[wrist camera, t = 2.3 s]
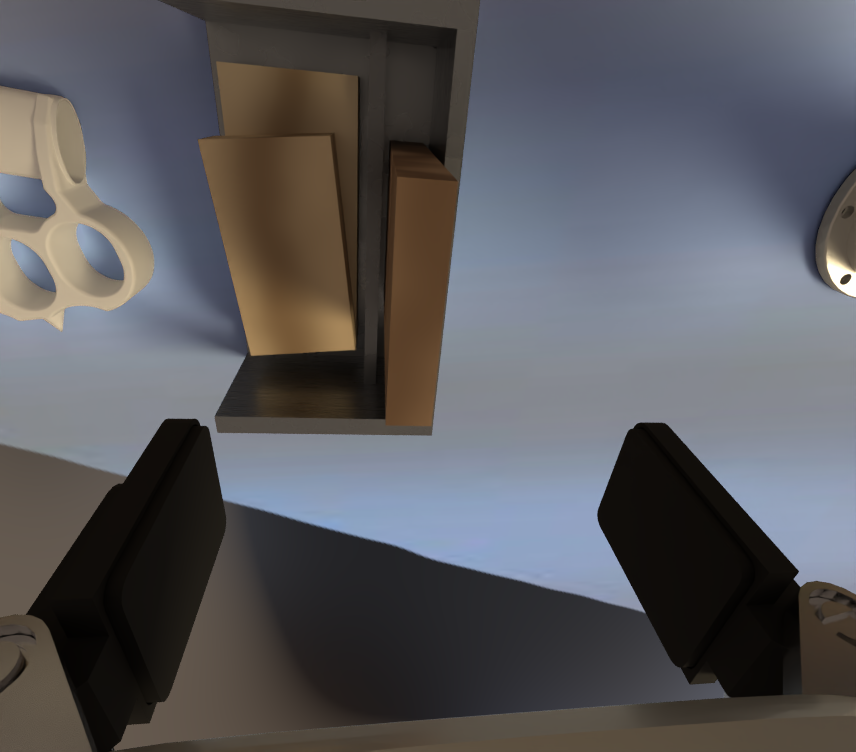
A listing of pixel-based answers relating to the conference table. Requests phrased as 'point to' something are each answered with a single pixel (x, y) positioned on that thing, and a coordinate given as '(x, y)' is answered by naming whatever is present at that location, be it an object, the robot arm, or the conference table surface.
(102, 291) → the white brass knuckles
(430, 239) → the wooden plank
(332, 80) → the offcut lower
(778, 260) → the conference table surface
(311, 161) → the offcut upper
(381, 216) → the rack
